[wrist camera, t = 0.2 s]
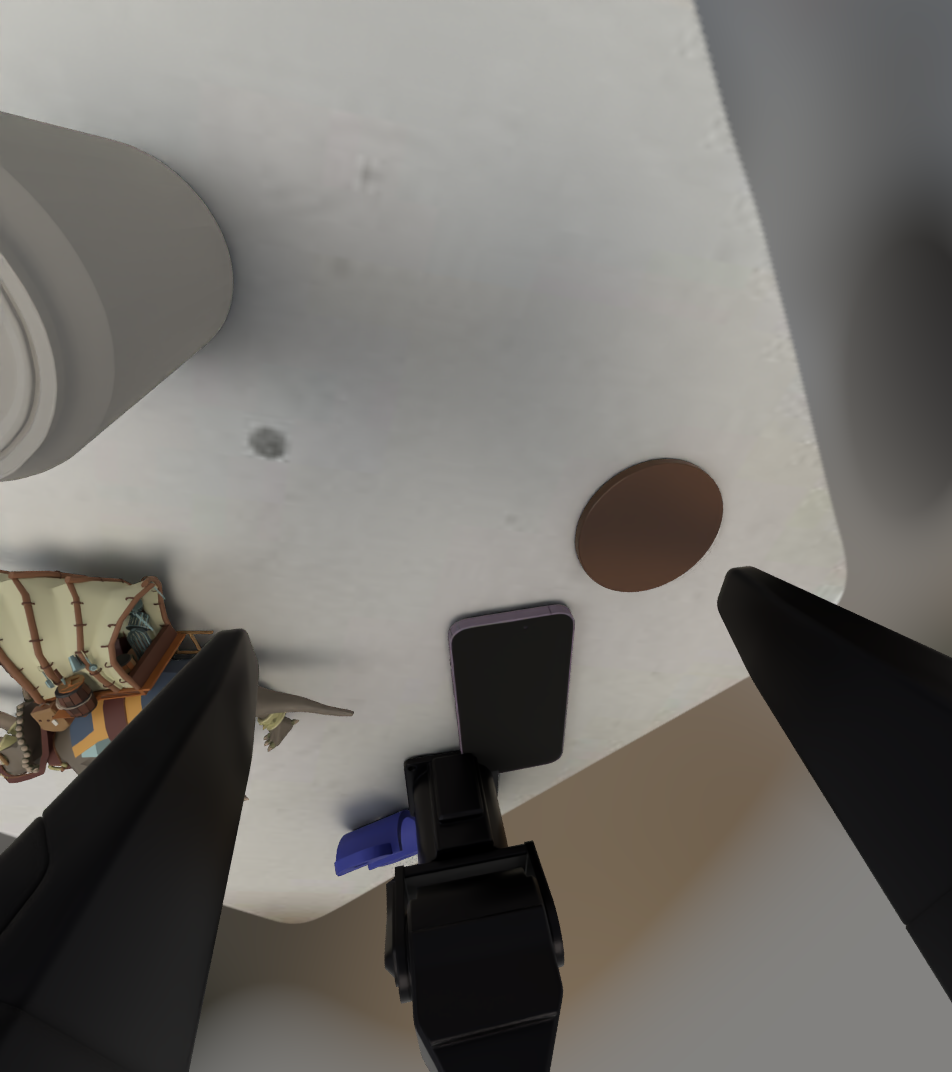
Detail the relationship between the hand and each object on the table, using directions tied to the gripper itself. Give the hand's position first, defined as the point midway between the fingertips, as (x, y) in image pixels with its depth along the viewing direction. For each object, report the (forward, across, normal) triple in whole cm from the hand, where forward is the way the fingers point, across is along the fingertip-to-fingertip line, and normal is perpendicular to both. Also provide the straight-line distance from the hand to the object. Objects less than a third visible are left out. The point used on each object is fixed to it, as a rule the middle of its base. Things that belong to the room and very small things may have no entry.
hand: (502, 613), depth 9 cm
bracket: (+11, +5, +33) cm, 35 cm away
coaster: (+14, -11, +9) cm, 20 cm away
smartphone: (+14, -4, +21) cm, 25 cm away
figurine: (+14, +16, +12) cm, 25 cm away
